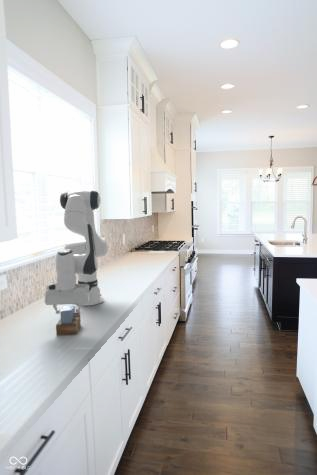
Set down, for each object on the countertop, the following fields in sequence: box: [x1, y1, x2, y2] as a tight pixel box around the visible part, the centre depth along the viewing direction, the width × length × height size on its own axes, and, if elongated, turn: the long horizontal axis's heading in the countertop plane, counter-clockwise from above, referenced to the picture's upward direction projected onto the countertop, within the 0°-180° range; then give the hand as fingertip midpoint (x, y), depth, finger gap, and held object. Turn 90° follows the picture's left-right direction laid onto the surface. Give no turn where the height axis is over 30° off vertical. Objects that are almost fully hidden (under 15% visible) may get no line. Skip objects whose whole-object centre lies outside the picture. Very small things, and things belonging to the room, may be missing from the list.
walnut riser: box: [55, 311, 82, 336], centre depth 160 cm, size 12×9×7 cm
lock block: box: [59, 305, 76, 324], centre depth 158 cm, size 8×5×6 cm, turn 4°
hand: (67, 313), depth 158 cm, fingers open, 8 cm apart
